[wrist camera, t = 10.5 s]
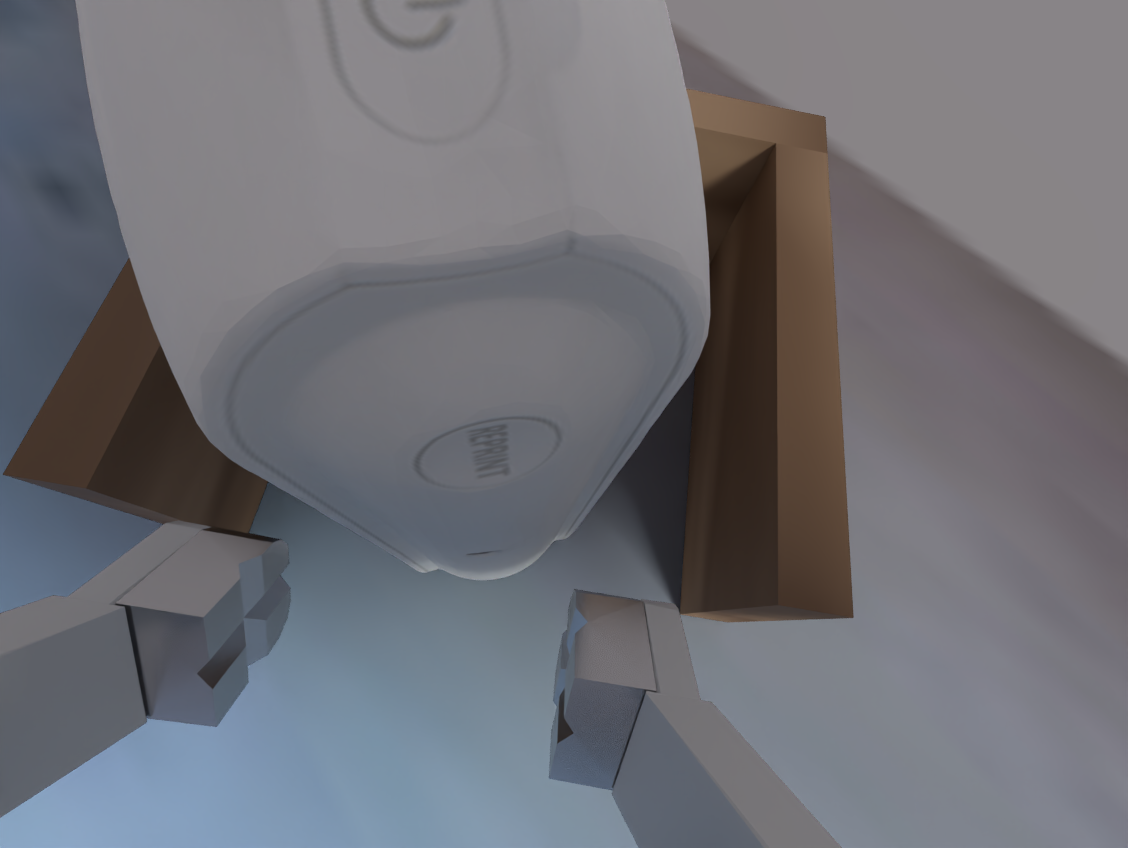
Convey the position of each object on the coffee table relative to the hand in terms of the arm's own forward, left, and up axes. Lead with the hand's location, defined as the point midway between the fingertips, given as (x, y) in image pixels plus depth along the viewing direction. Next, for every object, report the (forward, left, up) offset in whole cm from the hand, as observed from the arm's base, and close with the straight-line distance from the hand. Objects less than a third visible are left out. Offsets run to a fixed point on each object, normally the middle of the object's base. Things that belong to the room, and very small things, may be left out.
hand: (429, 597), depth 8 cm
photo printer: (+1, -5, -5) cm, 8 cm away
